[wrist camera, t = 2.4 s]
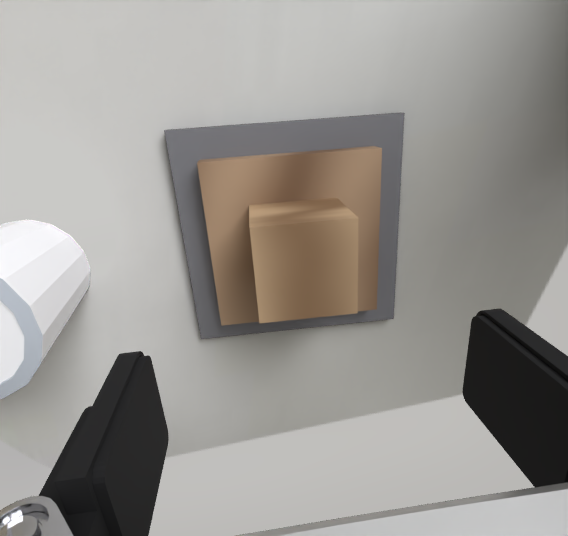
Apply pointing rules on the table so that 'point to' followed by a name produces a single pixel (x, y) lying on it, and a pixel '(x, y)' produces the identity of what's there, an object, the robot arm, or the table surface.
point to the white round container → (35, 295)
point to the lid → (293, 233)
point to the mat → (275, 140)
